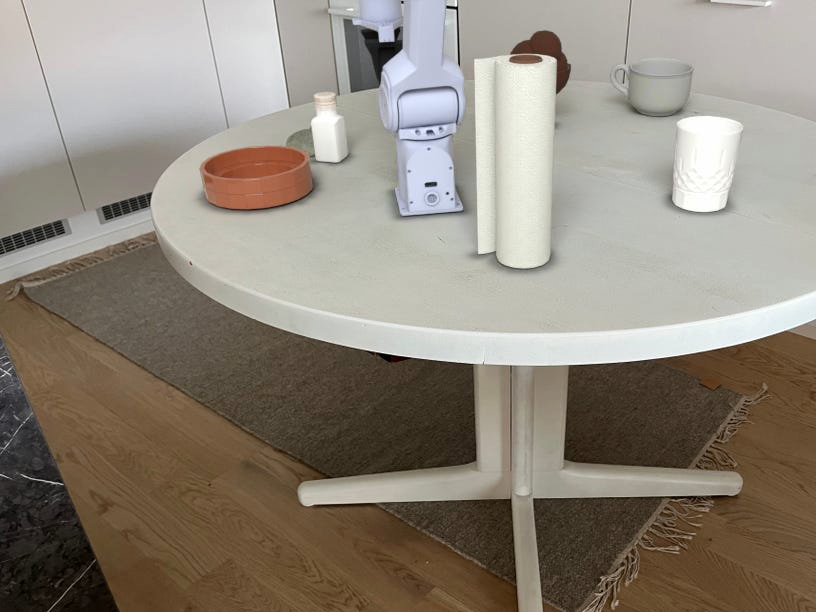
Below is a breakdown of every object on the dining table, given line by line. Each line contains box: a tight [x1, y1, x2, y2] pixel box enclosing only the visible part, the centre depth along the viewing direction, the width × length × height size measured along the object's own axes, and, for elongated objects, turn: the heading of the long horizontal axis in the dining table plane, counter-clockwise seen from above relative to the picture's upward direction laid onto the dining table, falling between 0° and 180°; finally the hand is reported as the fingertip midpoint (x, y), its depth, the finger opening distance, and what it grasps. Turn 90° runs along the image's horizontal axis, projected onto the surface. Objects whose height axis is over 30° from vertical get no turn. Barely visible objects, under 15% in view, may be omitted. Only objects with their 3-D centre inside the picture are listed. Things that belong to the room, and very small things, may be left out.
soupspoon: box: [285, 126, 315, 157], centre depth 129 cm, size 22×3×7 cm
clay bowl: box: [198, 145, 314, 210], centre depth 107 cm, size 14×14×4 cm
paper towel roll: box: [473, 54, 557, 269], centre depth 83 cm, size 7×6×21 cm
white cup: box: [671, 115, 744, 213], centre depth 99 cm, size 8×8×10 cm
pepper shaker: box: [310, 91, 349, 164], centre depth 117 cm, size 4×4×10 cm
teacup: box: [609, 57, 695, 117], centre depth 136 cm, size 14×11×8 cm
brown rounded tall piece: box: [509, 29, 572, 95], centre depth 128 cm, size 11×11×15 cm
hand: (386, 86), depth 114 cm, fingers open, 7 cm apart
